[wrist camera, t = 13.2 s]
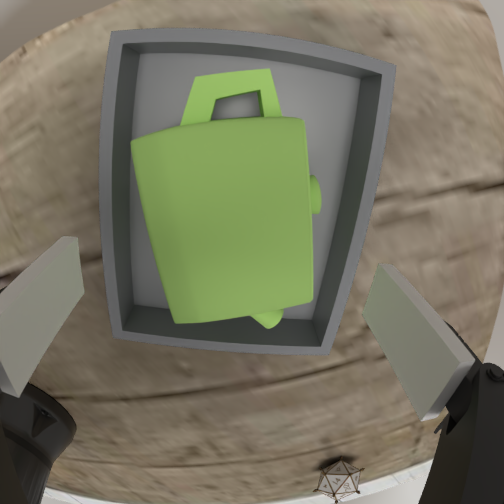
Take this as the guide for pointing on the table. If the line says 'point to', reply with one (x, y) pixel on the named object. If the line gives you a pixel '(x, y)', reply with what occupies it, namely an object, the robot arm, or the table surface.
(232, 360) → the table surface
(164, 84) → the gray tray
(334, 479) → the game die
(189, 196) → the green handled block
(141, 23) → the table surface
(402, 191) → the table surface
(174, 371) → the table surface
